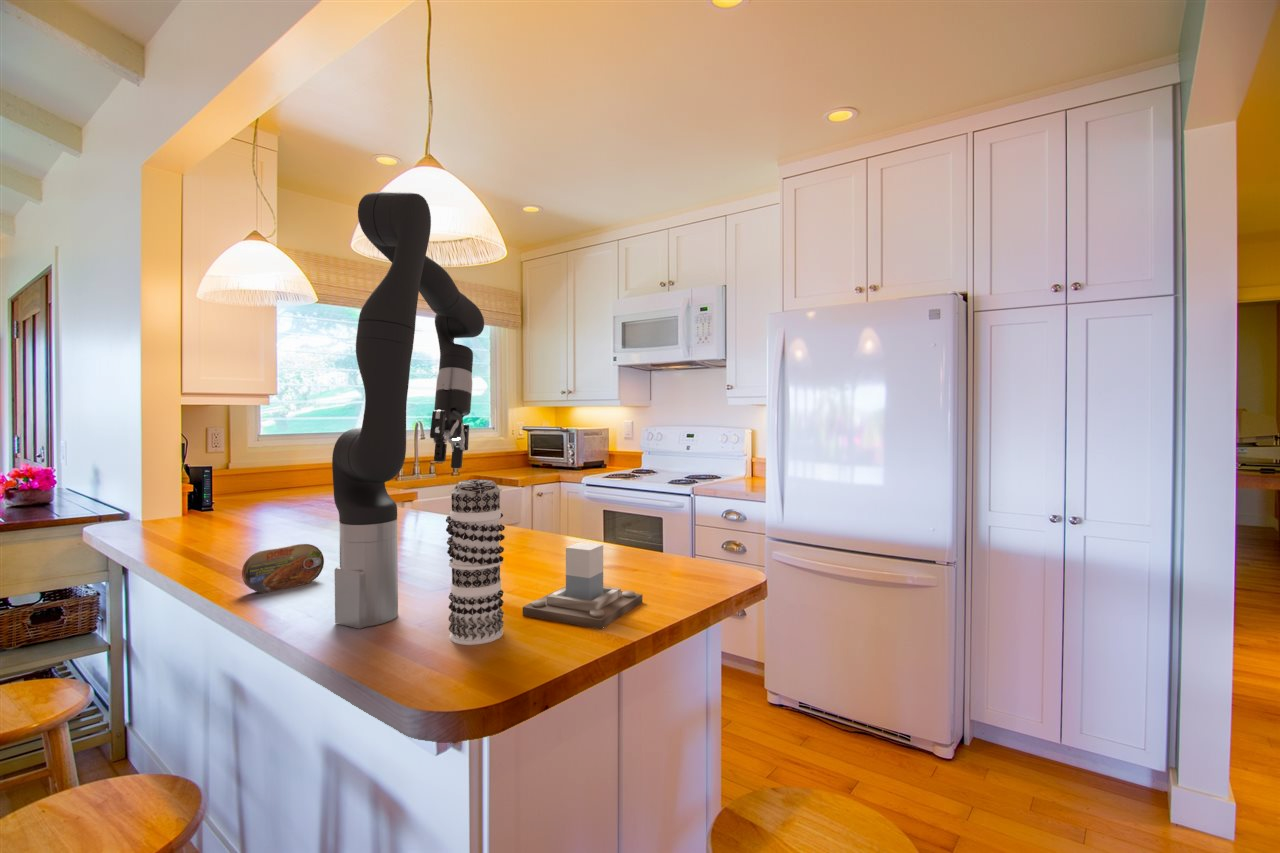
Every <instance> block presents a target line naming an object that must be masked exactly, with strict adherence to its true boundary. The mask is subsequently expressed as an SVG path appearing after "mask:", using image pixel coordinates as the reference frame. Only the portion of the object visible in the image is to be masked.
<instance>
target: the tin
mask: <svg viewBox="0 0 1280 853" xmlns="http://www.w3.org/2000/svg"><path fill="white" fill-rule="evenodd" d="M324 565H325V559H324V555H323V553H322V551H321V549H320V548H318V547H317V546H316V545H313V544H310V543H300V544H293V545H288V546H282V547H277V548H271V549H270V548H269V549H265V550H264V549H263V550H261V551H260V550H259V551H258V552H255V553H253V554H252V555H251V556H249V557H248V558H247V560H246V561H245V562H244V564H243V567H242V569H241V578H242V581H243V583H244V584H245V586H247V588H249V589H250V590H253V591H254V592H257V593H262V594H266V593H267V594H268V593H271V592H277V591H280V590H285V589H289V588H294V587H298V586H304V585H307V584H309V583H311V582H313V581H315V580H316V579H317V578H318V577H319V576H320V574H322V571H323V569H324Z"/></svg>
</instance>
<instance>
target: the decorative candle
mask: <svg viewBox="0 0 1280 853" xmlns="http://www.w3.org/2000/svg"><path fill="white" fill-rule="evenodd" d="M502 491H503V489H501V488H499V487H498V485H497V484H496V482H495V481H494V480H491V479H466V480H460V481H459V482H458V483H456V485H455V487H454V489H452V490H450V491H449V493H451V500H450V501H451V510H450V514H449V515H448V516H446V519H445V522H446V523H447V524H448V525H447V527H446V528H445V531H446V532H447V534H448V535H450V536H449V537H448V538H447V541H446V544H447V546H449V547H448V550H446V551H447V552H446V553H447V554H448V556H449V557H450V559H449V562H448V567H450V568H451V583H450V593H449V595H448V599H449V600H450V601H451V602H449V605H448V609H449V610H450V611H451V612H450V614H449V616H448V621H449V625H448V631H449V632H450V635H449V640H450V641H451V642H452V643H453V644H454V643H455V644H457V645H461V646H462V645H465V646H475V645H483V644H484V645H485V644H487V643H491V642H494V641H497V640H499V639H500V638H501V637H503V635H504V628H503V627H504V620H503V618H504V614H505V613H504V611H503V609H502V608H501V607H503V605H504V600H503V599H502V597H503V595H504V590H503V589H502V578H501V565H502V564H503V562H504V557H503V556H502V555H500V554H502V553H503V552H504V551H505V548H504V546H501V545H500V542H501V541H503V540H505V538H506V536H505V535H504V534H502V533H500V532H503V531H504V530H505V528H506V526H505V525H503V524H502V523H500V519H501V518H503V516H504V514H503V513H502V507H500V506H501V505H500V504H501V503H500V502H501V497H500V494H501V492H502Z"/></svg>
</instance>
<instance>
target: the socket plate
mask: <svg viewBox="0 0 1280 853" xmlns="http://www.w3.org/2000/svg"><path fill="white" fill-rule="evenodd" d="M642 603H643V593H635V591H634V590H624V591H622V588H620V587H611V586H605V585H603V595H601V596H600V597H598V598H596V599H594V600H592V601H590V600H584V599H578V598H571V597H566V585H565V586H563V587H561V588H559V589H558V590H555V591H553V592H550V593H549V594H547V595H544V596H542V597H540V598H538V599H535V600H532V601H531V603H528V604H526V605H524V606H522V616H524V617H525V616H526V617H530V618H537V619H542V620H548V621H553V622H559V623H564V624H571V625H576V626H580V627H581V626H582V627H585V628H591V627H594V628H593V629H597V628H598V629H597V630H602V628H603V627H604V628H606V627H607V626H609V625H610V624H612V623H614V622H615V621H616V620H618V619H619V618H621V617H622V616H623V615H626V614H627V613H628V612H630V611H631V610H633V609H634V608H636V607H637V606H639V605H640V604H642ZM611 622H612V623H611ZM608 624H609V625H608ZM605 626H606V627H605ZM604 628H603V629H604Z"/></svg>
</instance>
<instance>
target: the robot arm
mask: <svg viewBox="0 0 1280 853" xmlns="http://www.w3.org/2000/svg"><path fill="white" fill-rule="evenodd" d="M357 218H358V222H359V225H360V229H361V231H362V233H363V234H364V236H365V237H366V238H367V240H368V241H369V242H370V243H371V244H372V245H373V247H375V248H376V249H377V250H378V251H379V252H380V253H381V254H382V255H383V256H384V257H385V258H387V259H388V260H389V261H390V263H391V265H390V266H389V267H390V268H389V269H388V271H387V273H386V275H385V276H384V277H383V279H382V280H381V281H380V283H379V284H378V285H377V286H376V287H375V289H374V290H373V292H371V294H370V295H369V297H368V298H367V299H366V301H365V303H364V304H363V306H362V307H361V309H360V312H359V315H358V316H359V317H358V320H357V322H358V323H357V330H356V338H355V356H356V361H357V366H358V369H359V373H360V377H361V380H362V382H363V383H362V385H363V387H364V388H363V389H364V395H365V396H364V397H365V401H364V410H363V418H362V424H361V427H357V428H352V429H349V430H347V431H345V432H343V433H342V434H341V435H340V436H339V437H338V438H337V440H336V442H335V444H334V447H333V450H332V456H331V457H332V460H331V463H332V464H331V465H332V467H331V468H332V469H331V470H332V483H333V484H332V485H333V486H332V487H333V500H334V504H335V507H336V509H337V511H338V517H339V518H338V520H339V521H338V522H339V523H338V524H339V566H336V567H335V568H334V624H336V625H337V624H338V625H340V626H341V625H342V626H345V627H350V628H356V629H363V628H365V627H371V626H377V625H383V624H386V623H388V622H391V621H392V620H395V619H396V618H398V616H399V579H398V578H399V572H398V570H399V569H398V568H399V564H398V563H399V562H398V559H399V557H398V554H399V553H398V550H399V549H398V547H399V546H398V545H399V544H398V542H399V541H398V540H399V539H398V536H399V535H398V505H397V503H396V501H394V499H393V498H391V496H390V495H389V493H388V491H387V489H386V482H390V481H392V480H393V479H394V478H395V477H396V476H398V474H399V473H400V472H401V470H402V468H403V466H404V463H405V459H406V453H407V402H408V393H409V385H410V384H409V382H410V374H411V373H410V371H411V362H412V356H413V350H414V348H413V347H414V342H415V334H416V333H415V331H416V322H417V321H416V320H417V309H418V301H419V293H420V295H421V297H422V298H423V300H424V301H425V302H426V303H427V305H428V307H429V308H430V309H431V310H432V312H433V313H434V314H435V317H434V326H435V331H436V335H437V340H438V347H439V365H438V374H437V377H436V387H435V396H434V408H433V410H432V413H431V414H432V415H431V421H430V422H431V423H430V431H429V438H430V439H433V443H434V453H433V454H434V455H433V461H434V462H436V463H444V462H445V461H446V458H447V449H448V448H447V443H449V444H450V445H451V463H450V468H451V469H454V470H456V469H457V470H458V469H462V468H463V456H464V453H465V451H468V450H469V438H470V436H469V435H470V424H466V423H465V424H464V419H463V418H464V417H466V416H469V415H470V414H471V409H472V408H471V407H472V396H473V366H474V365H473V364H474V352H473V350H472V349H471V348H470V347H468V346H467V345H464V344H458V343H455V341H454V340H455V339H463V338H464V339H465V338H467V339H468V338H469V339H470V338H475V337H478V336H480V335H481V334H482V332H483V330H484V328H485V318H484V316H483V314H482V313H483V312H482V311H481V310H480V309H479V307H478V305H476V304H475V303H474V302H473V301H472V300H470V298H468V297H467V296H466V295H465V294H463V293H462V292H461V291H460V290H459V288H458V287H457V285H456V283H455V282H454V280H453V278H452V277H451V275H450V274H449V272H447V271H446V269H445V268H443V267H442V266H441V265H440V264H439V263H437V262H436V261H435V260H433V259H432V258H430V257H429V256H428V255H427V252H428V246H429V242H430V238H431V237H430V236H431V228H432V217H431V210H430V206H429V204H428V201H427V200H426V199H425V197H424V196H423V195H421V194H420V193H417V192H409V191H408V192H407V191H406V192H405V191H403V192H401V191H375V192H369V193H367V194H365V195H363V196H362V197H361V199H360V200H359V203H358V207H357Z"/></svg>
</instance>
